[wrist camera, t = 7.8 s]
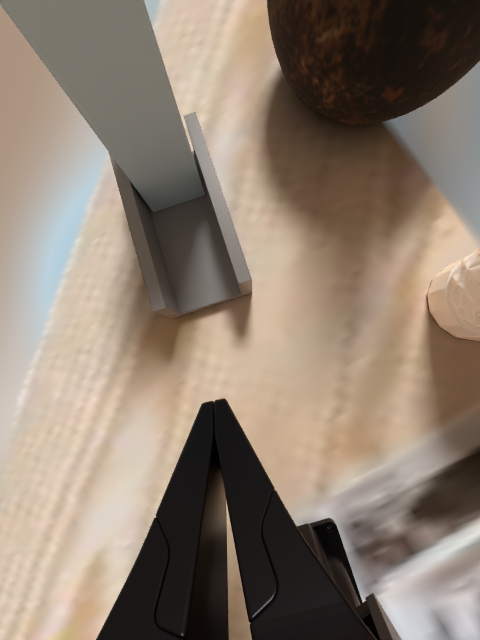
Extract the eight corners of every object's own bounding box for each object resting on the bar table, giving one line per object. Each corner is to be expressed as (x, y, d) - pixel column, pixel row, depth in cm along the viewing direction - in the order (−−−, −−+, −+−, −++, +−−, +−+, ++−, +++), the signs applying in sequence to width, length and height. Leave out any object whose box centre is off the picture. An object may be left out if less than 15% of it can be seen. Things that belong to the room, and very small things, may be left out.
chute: (252, 292, 22) (251, 279, 18) (172, 318, 22) (152, 311, 18) (205, 154, 24) (195, 112, 20) (132, 179, 24) (105, 142, 20)
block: (205, 195, 22) (126, -56, 8) (153, 212, 22) (-9, -8, 9) (189, 148, 23) (93, -156, 9) (139, 165, 23) (-32, -111, 9)
